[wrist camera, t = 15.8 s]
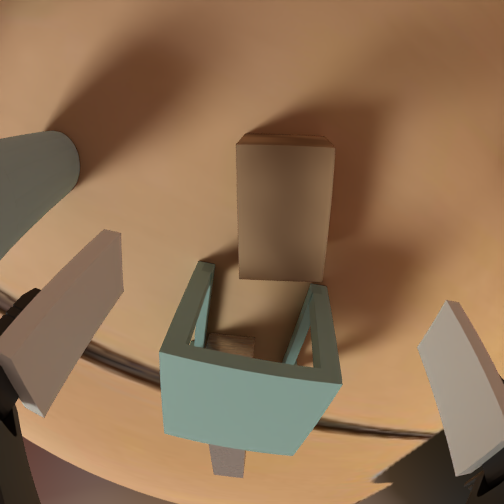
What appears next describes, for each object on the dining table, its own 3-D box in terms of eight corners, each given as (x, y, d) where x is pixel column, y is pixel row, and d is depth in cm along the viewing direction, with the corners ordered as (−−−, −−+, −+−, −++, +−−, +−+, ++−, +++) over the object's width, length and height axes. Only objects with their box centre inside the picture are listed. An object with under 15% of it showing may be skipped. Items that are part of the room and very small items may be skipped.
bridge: (190, 349, 29) (164, 433, 20) (198, 260, 24) (159, 351, 16) (293, 368, 29) (292, 455, 21) (326, 286, 24) (342, 384, 16)
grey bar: (219, 445, 39) (214, 474, 35) (210, 330, 28) (198, 372, 23) (246, 448, 39) (243, 477, 35) (254, 335, 28) (249, 378, 23)
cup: (109, 159, 20) (10, 215, 11) (66, 225, 23) (-14, 294, 14) (50, 98, 18) (-56, 125, 9) (14, 168, 21) (-72, 217, 12)
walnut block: (246, 244, 23) (239, 279, 19) (245, 133, 19) (236, 144, 15) (315, 247, 23) (322, 282, 19) (323, 136, 19) (335, 148, 15)
